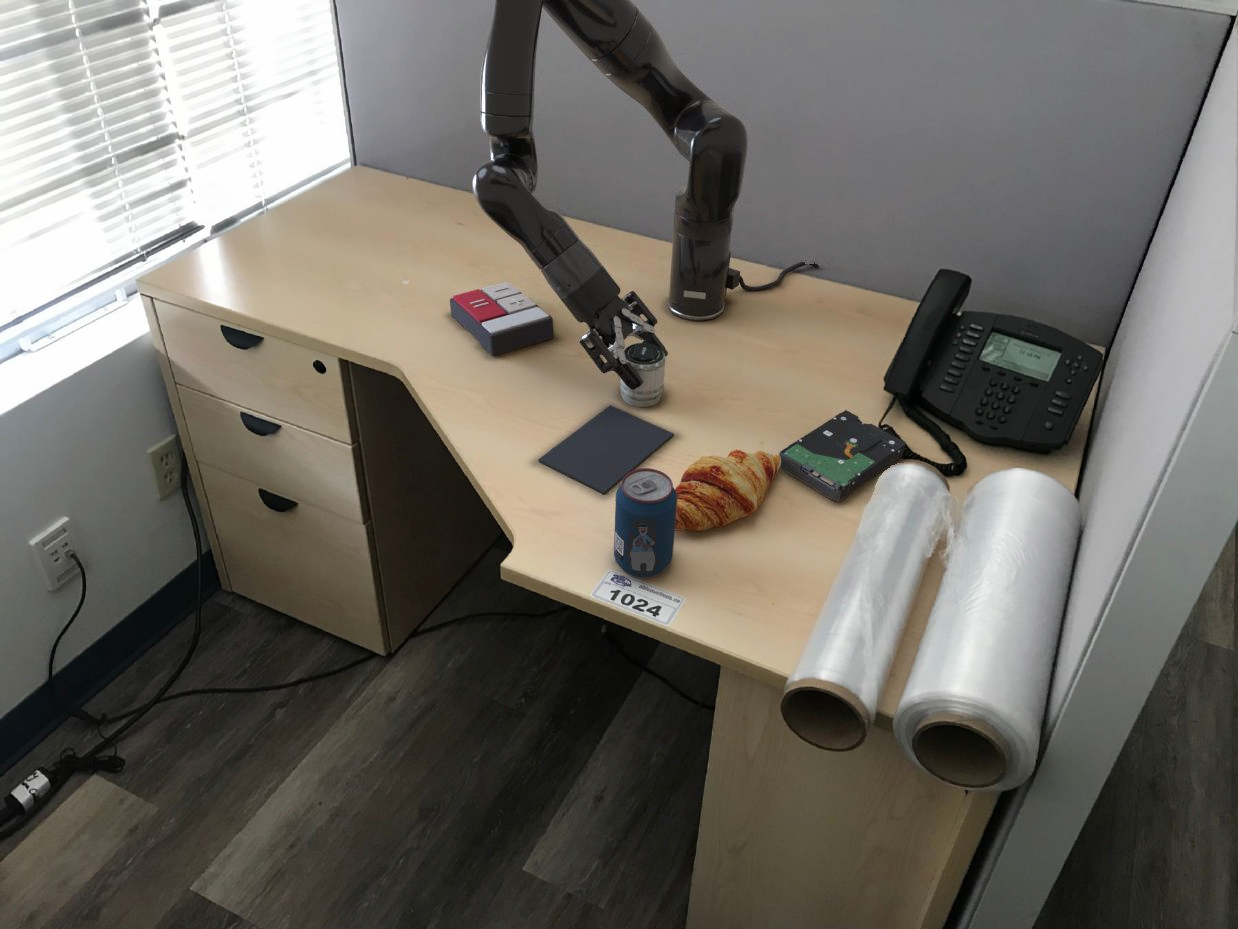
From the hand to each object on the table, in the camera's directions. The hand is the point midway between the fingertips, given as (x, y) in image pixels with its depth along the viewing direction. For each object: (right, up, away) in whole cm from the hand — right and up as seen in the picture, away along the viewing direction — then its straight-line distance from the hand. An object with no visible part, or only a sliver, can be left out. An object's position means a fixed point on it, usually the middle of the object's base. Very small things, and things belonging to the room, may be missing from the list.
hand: (651, 372), depth 141 cm
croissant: (+9, -18, -15) cm, 25 cm away
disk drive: (+25, -13, -7) cm, 29 cm away
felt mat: (-6, -11, -7) cm, 14 cm away
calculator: (-23, +9, +18) cm, 31 cm away
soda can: (-2, -25, -23) cm, 34 cm away
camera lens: (-1, -3, +3) cm, 5 cm away
